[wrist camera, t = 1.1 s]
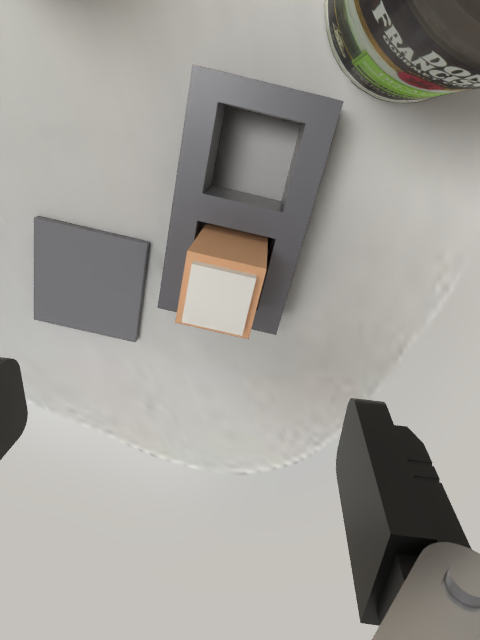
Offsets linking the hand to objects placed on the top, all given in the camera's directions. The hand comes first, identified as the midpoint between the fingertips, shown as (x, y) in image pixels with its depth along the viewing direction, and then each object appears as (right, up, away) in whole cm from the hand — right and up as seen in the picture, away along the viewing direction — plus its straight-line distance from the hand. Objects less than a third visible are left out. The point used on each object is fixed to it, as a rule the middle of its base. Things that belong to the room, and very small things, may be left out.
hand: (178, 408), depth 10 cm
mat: (-10, +5, +21) cm, 24 cm away
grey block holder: (+2, +10, +18) cm, 21 cm away
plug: (+1, +7, +19) cm, 21 cm away
